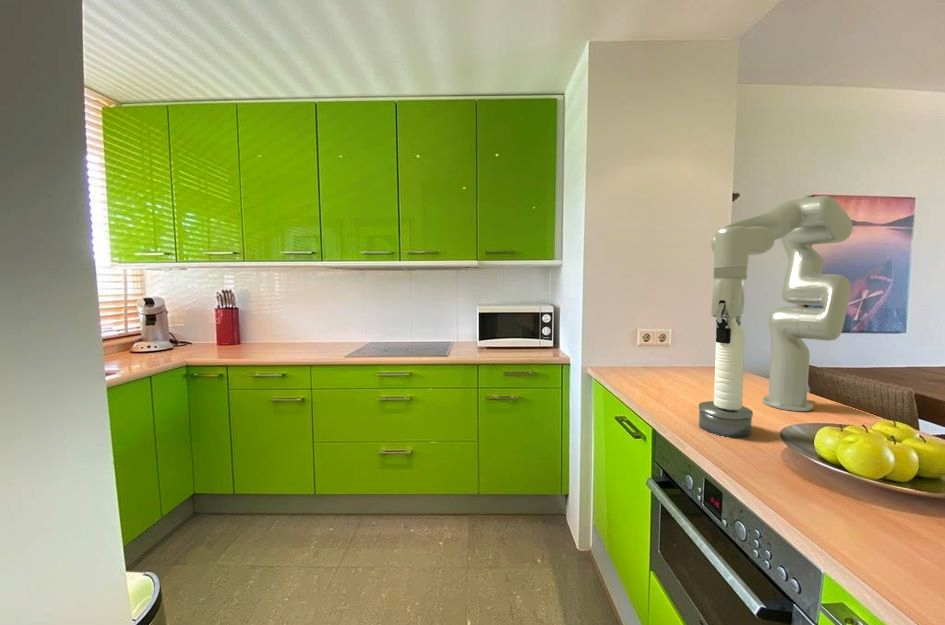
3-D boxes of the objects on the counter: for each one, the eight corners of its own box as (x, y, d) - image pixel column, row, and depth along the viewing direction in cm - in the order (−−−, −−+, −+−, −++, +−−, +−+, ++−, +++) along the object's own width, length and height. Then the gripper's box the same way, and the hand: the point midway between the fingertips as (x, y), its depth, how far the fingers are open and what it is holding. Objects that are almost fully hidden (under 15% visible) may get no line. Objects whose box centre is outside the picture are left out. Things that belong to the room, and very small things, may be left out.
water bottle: (744, 411, 102) (747, 317, 99) (715, 408, 105) (717, 316, 102) (738, 401, 109) (741, 313, 107) (711, 398, 112) (714, 313, 110)
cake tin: (708, 418, 115) (708, 398, 115) (758, 430, 106) (759, 409, 105) (690, 429, 108) (691, 408, 107) (742, 443, 98) (743, 420, 97)
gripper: (726, 274, 111) (724, 336, 113) (701, 275, 100) (699, 343, 102) (757, 273, 105) (754, 338, 107) (735, 274, 94) (732, 347, 96)
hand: (727, 340), depth 104 cm, fingers closed on water bottle, 6 cm apart
